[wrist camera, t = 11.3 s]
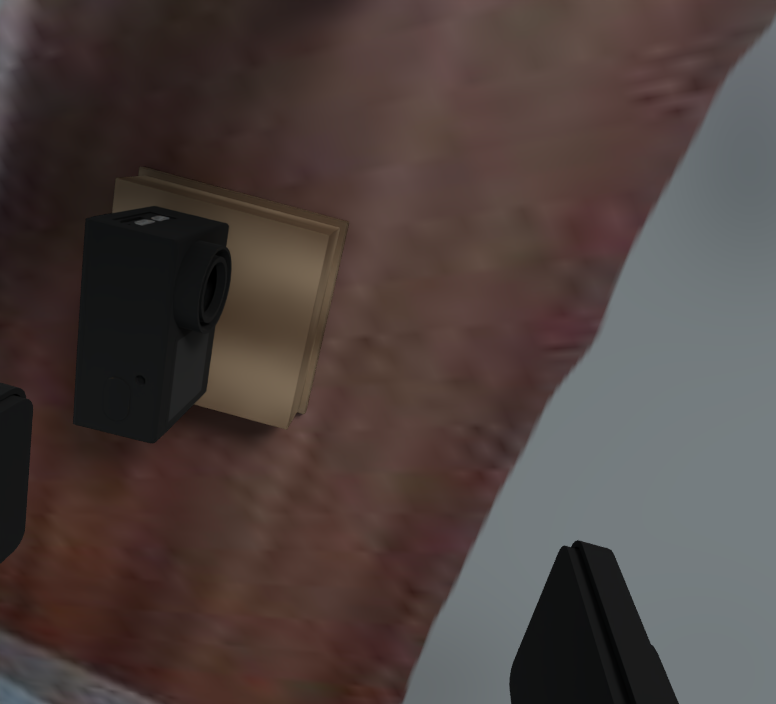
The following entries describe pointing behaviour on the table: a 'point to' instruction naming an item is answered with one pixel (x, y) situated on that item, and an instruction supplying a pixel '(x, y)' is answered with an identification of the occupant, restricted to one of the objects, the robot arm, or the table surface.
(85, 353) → the digital camera
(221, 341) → the plinth
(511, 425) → the table surface
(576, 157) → the table surface
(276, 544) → the table surface
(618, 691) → the robot arm
